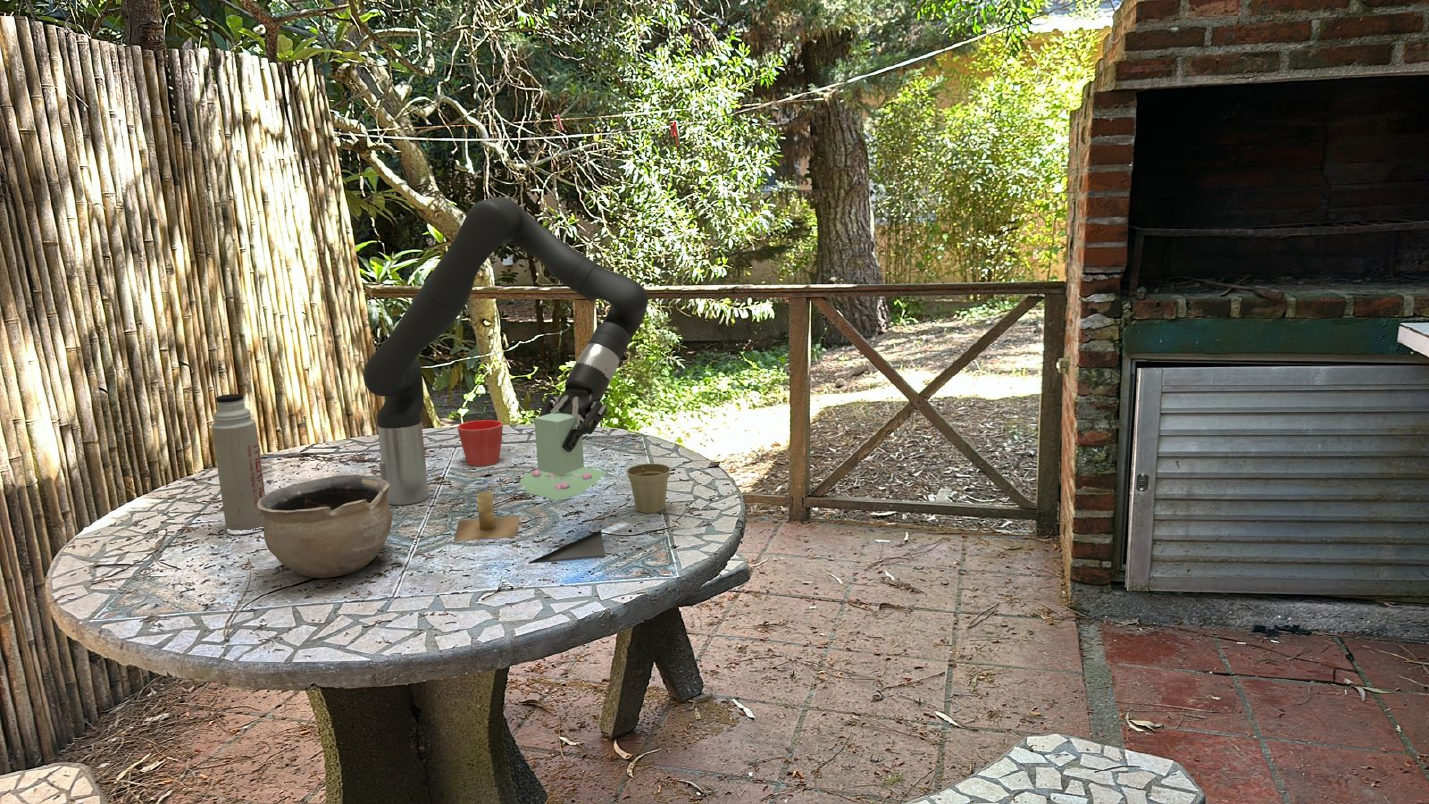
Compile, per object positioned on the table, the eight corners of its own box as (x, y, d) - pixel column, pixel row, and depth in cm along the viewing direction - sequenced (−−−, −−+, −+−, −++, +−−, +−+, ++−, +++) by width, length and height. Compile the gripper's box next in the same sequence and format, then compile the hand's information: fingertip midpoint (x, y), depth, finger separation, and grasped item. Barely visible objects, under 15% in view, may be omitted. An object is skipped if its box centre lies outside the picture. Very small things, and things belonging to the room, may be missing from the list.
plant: (608, 499, 216) (606, 459, 214) (513, 506, 213) (510, 465, 211) (604, 467, 240) (602, 431, 238) (518, 473, 237) (515, 437, 235)
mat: (528, 563, 179) (528, 561, 179) (529, 537, 192) (528, 535, 192) (605, 556, 181) (605, 554, 181) (600, 530, 194) (600, 529, 194)
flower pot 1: (470, 456, 251) (467, 419, 249) (511, 456, 249) (508, 419, 247) (453, 468, 241) (450, 429, 239) (496, 468, 239) (493, 430, 237)
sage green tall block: (561, 475, 179) (558, 422, 177) (538, 470, 183) (534, 418, 180) (583, 467, 184) (580, 415, 182) (560, 462, 187) (557, 411, 185)
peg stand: (454, 548, 187) (450, 506, 185) (459, 527, 199) (455, 487, 197) (518, 543, 189) (515, 501, 187) (519, 522, 201) (516, 482, 199)
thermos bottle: (277, 522, 204) (260, 391, 198) (252, 536, 197) (233, 400, 191) (243, 521, 206) (225, 390, 200) (217, 534, 198) (197, 399, 192)
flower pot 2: (638, 519, 201) (636, 478, 199) (620, 506, 209) (619, 467, 207) (679, 511, 205) (678, 471, 203) (661, 499, 213) (659, 460, 211)
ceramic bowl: (319, 603, 164) (308, 518, 161) (241, 578, 175) (230, 498, 172) (422, 559, 182) (414, 481, 179) (345, 539, 194) (337, 466, 190)
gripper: (554, 358, 189) (513, 432, 182) (611, 364, 181) (570, 442, 174) (575, 380, 194) (536, 452, 188) (631, 387, 186) (592, 463, 179)
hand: (553, 447), depth 181 cm, fingers closed on sage green tall block, 6 cm apart
